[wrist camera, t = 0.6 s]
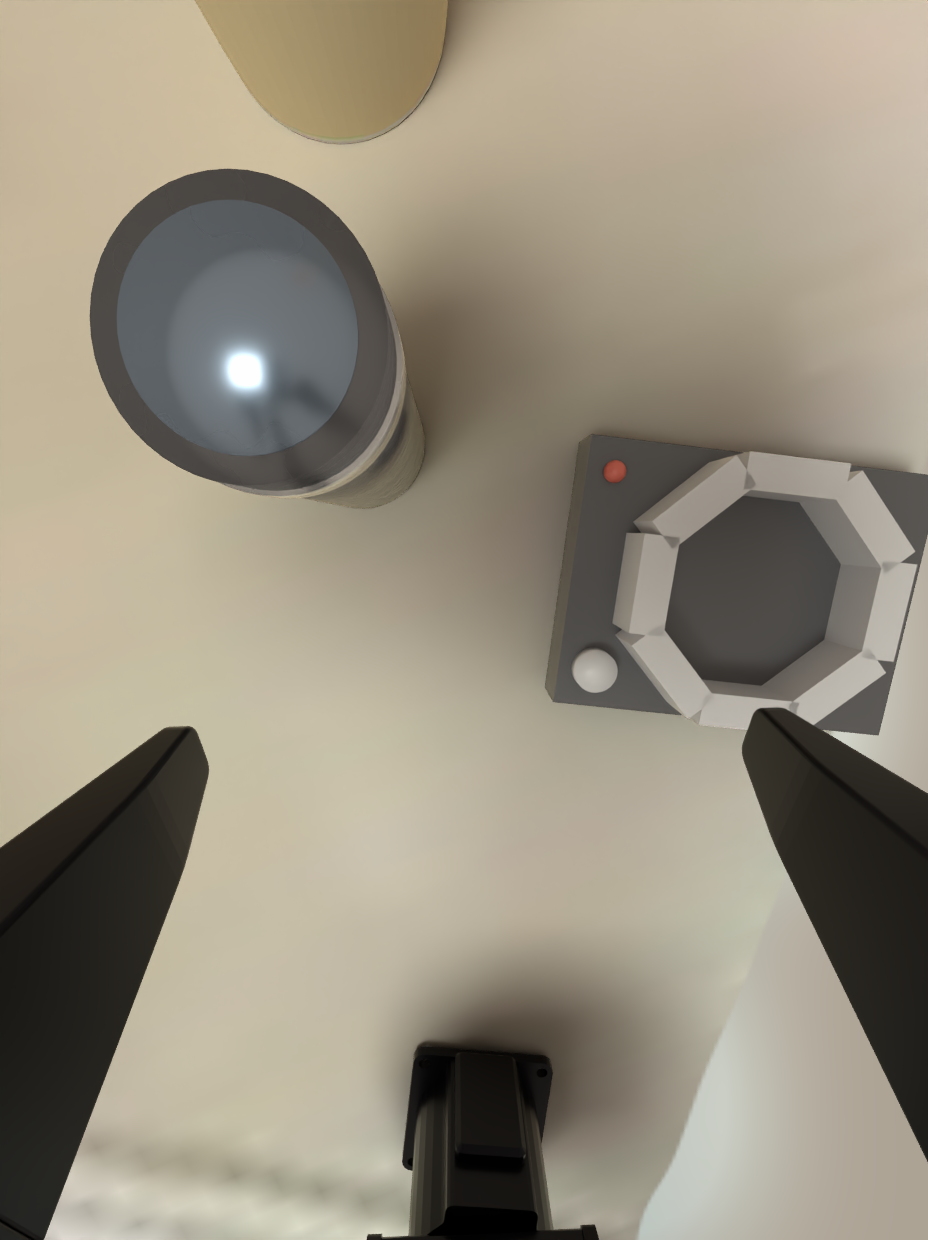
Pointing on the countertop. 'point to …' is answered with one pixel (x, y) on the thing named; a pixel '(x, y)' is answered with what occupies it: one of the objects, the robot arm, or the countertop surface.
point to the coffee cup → (332, 60)
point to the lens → (255, 342)
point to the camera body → (734, 584)
